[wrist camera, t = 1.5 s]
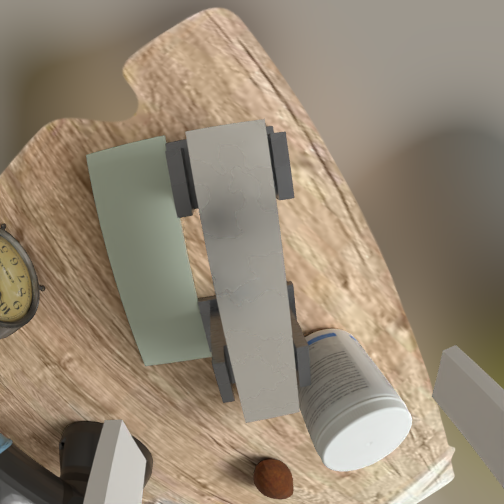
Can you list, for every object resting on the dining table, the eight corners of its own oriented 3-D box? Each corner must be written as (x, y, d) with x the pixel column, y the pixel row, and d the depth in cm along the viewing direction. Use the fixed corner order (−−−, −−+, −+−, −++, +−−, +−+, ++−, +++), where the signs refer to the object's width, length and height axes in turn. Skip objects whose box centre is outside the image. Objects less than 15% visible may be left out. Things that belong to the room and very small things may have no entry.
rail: (240, 388, 28) (245, 422, 24) (190, 135, 21) (185, 131, 17) (288, 379, 29) (299, 411, 24) (254, 125, 22) (264, 119, 17)
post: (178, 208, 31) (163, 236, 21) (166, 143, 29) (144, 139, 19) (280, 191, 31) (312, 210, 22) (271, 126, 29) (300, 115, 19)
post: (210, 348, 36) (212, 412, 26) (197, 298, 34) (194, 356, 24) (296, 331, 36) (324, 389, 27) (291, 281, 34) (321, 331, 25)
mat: (145, 363, 35) (145, 365, 35) (88, 154, 28) (85, 155, 27) (211, 353, 36) (211, 356, 35) (165, 135, 28) (164, 135, 28)
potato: (267, 485, 46) (273, 513, 40) (238, 458, 43) (242, 490, 37) (299, 474, 46) (307, 502, 40) (274, 445, 43) (282, 477, 36)
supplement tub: (276, 385, 39) (304, 477, 25) (296, 321, 36) (340, 411, 22) (343, 386, 40) (387, 466, 26) (368, 327, 38) (430, 403, 24)
